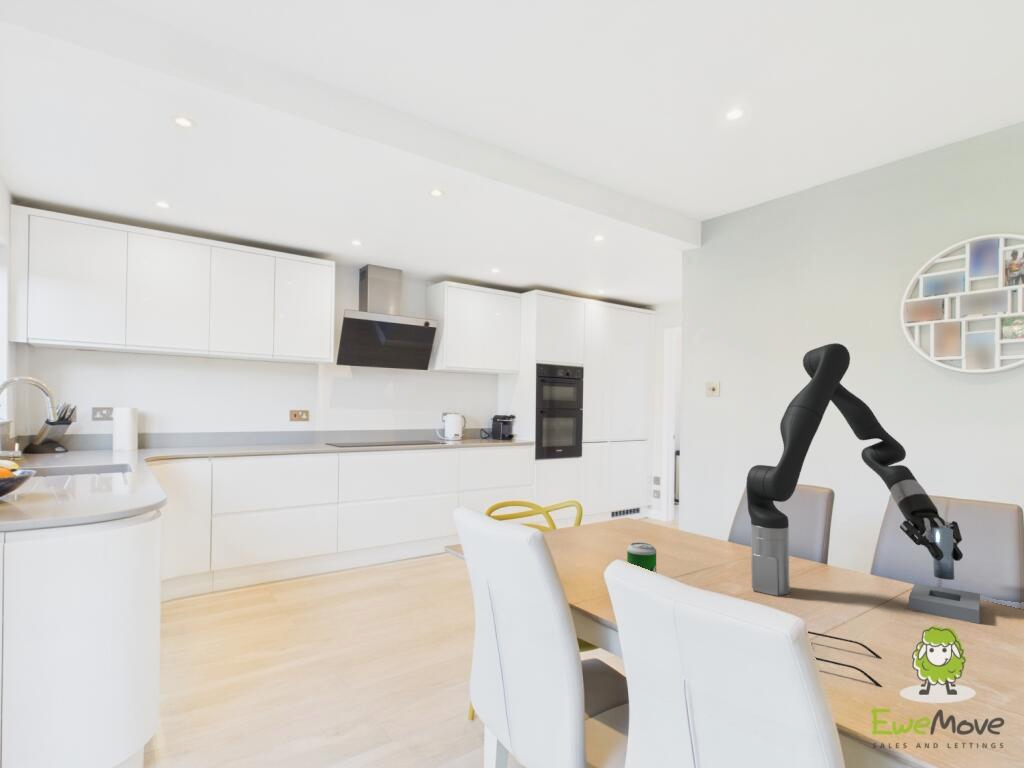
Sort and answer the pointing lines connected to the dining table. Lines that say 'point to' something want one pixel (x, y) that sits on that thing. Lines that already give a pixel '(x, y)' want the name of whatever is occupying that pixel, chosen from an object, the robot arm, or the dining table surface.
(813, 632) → the glasses
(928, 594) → the socket stand
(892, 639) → the dining table surface
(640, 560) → the soda can
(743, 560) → the dining table surface
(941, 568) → the steel pin
